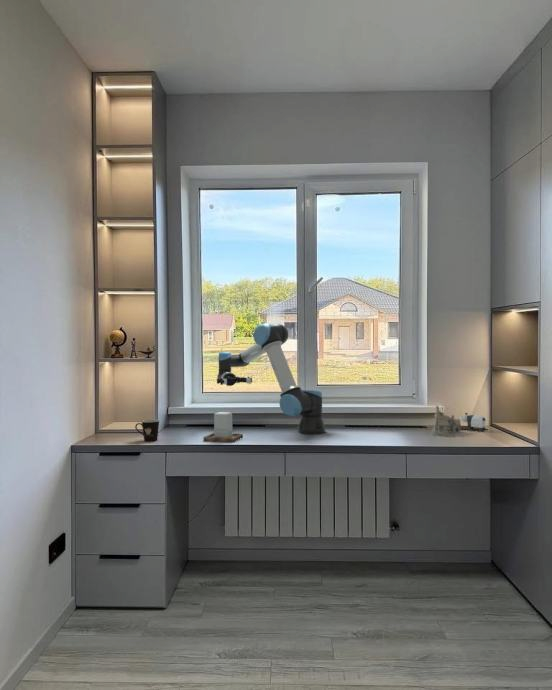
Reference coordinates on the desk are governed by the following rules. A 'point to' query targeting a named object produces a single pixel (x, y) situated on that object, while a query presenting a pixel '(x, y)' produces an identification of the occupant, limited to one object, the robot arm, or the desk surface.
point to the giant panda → (474, 421)
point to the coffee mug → (149, 430)
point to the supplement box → (223, 424)
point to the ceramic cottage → (445, 425)
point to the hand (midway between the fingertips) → (238, 381)
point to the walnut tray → (216, 439)
